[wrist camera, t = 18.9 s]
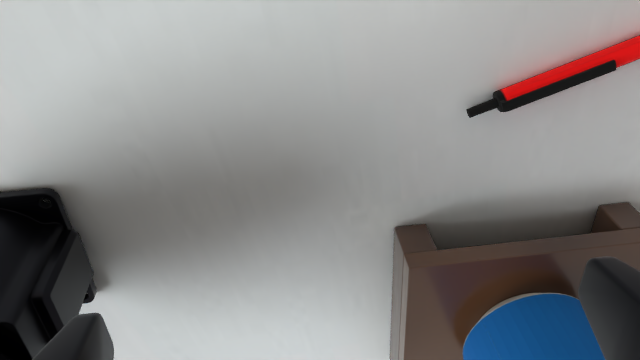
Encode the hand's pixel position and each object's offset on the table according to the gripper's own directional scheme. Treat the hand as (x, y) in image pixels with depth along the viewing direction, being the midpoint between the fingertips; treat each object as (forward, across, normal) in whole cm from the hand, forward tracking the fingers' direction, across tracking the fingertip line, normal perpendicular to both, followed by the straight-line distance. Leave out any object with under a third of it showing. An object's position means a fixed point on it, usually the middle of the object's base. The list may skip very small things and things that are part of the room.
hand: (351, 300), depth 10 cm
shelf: (+13, -10, +14) cm, 22 cm away
